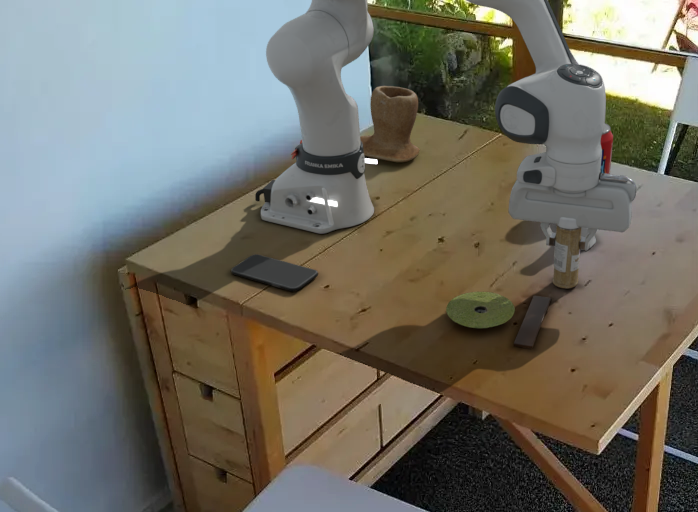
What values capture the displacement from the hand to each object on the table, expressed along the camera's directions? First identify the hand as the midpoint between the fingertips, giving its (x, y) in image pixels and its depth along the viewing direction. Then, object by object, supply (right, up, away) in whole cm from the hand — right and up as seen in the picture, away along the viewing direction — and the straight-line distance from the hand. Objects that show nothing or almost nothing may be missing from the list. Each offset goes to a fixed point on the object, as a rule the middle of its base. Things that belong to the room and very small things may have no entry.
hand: (567, 246), depth 159 cm
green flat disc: (-15, -13, -4) cm, 20 cm away
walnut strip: (-6, -13, -6) cm, 16 cm away
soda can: (+8, +14, +32) cm, 36 cm away
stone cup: (-34, +27, +51) cm, 67 cm away
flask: (+4, +3, +17) cm, 18 cm away
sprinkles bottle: (0, -6, +4) cm, 7 cm away
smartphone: (-51, -4, +8) cm, 52 cm away
